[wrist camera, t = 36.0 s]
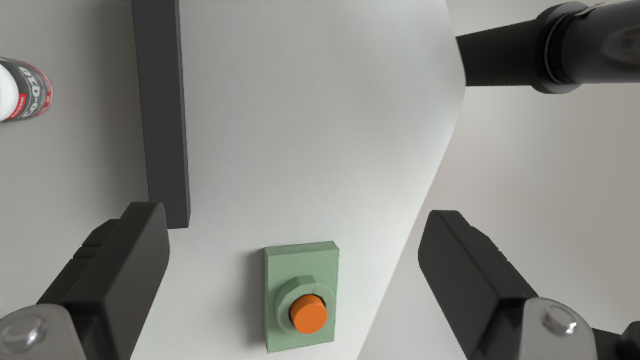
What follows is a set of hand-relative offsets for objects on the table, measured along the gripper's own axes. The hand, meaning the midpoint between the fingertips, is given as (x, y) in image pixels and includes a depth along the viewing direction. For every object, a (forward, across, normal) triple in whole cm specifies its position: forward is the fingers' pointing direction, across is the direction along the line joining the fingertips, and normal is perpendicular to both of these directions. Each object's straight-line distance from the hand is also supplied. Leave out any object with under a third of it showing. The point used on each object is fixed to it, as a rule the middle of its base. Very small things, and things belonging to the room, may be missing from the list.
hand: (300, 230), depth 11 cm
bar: (+24, +11, +4) cm, 26 cm away
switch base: (+21, -3, +24) cm, 32 cm away
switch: (+17, -3, +24) cm, 29 cm away
